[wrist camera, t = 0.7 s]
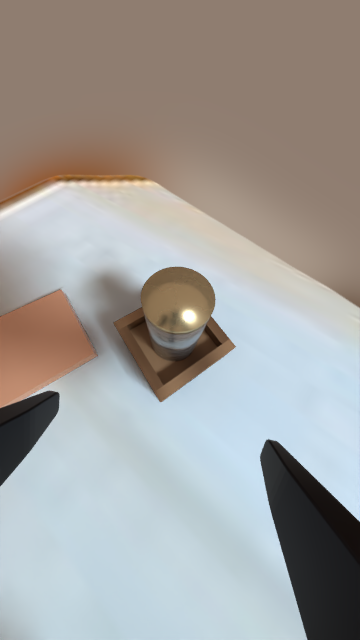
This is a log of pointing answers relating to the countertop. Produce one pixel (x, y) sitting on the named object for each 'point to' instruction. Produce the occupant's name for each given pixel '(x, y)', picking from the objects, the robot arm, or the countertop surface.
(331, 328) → the countertop surface
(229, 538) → the countertop surface
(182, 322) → the silver and gold cylinder
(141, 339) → the socket block
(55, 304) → the terracotta tile
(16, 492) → the countertop surface
